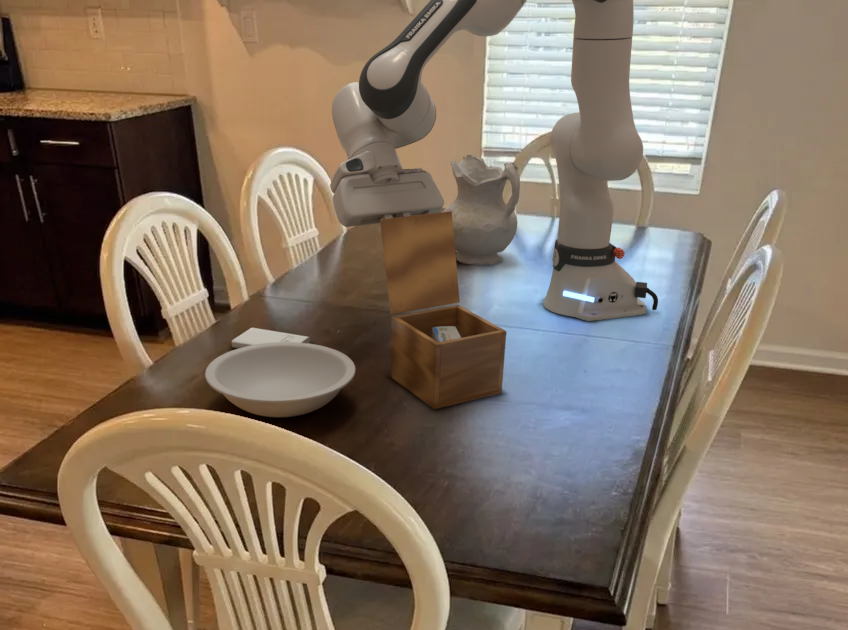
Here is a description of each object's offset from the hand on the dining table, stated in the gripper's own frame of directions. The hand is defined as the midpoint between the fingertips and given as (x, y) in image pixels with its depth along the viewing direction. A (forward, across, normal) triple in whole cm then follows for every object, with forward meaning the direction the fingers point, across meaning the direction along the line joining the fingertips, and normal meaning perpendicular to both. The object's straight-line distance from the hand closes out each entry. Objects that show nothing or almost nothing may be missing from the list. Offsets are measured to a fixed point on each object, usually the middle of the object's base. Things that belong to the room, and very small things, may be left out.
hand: (404, 240), depth 150 cm
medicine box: (+26, 0, -4) cm, 26 cm away
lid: (+6, 0, +3) cm, 7 cm away
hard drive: (+4, +20, -27) cm, 34 cm away
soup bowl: (+22, +28, -9) cm, 37 cm away
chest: (+26, 0, -5) cm, 27 cm away
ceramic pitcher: (-18, -50, -49) cm, 72 cm away
